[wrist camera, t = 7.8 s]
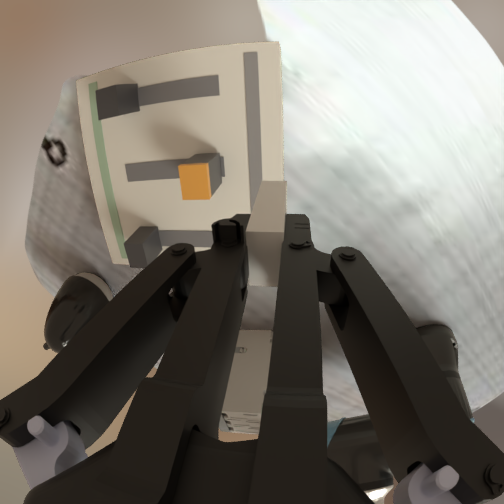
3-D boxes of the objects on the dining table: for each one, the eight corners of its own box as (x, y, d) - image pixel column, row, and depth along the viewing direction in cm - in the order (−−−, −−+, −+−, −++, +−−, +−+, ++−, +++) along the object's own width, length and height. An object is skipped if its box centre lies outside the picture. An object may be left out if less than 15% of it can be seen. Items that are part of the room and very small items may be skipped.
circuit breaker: (194, 328, 47) (166, 403, 34) (279, 329, 44) (271, 413, 31) (204, 355, 50) (182, 425, 38) (282, 358, 48) (274, 435, 35)
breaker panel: (281, 49, 24) (276, 32, 16) (283, 249, 36) (279, 295, 29) (100, 78, 27) (52, 83, 19) (129, 244, 39) (97, 281, 32)
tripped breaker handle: (219, 152, 26) (206, 164, 22) (222, 182, 27) (209, 199, 23) (195, 153, 26) (178, 166, 22) (198, 183, 28) (182, 200, 24)
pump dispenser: (67, 275, 45) (20, 329, 32) (94, 254, 42) (38, 316, 29) (101, 314, 49) (63, 373, 36) (132, 300, 45) (90, 368, 33)
